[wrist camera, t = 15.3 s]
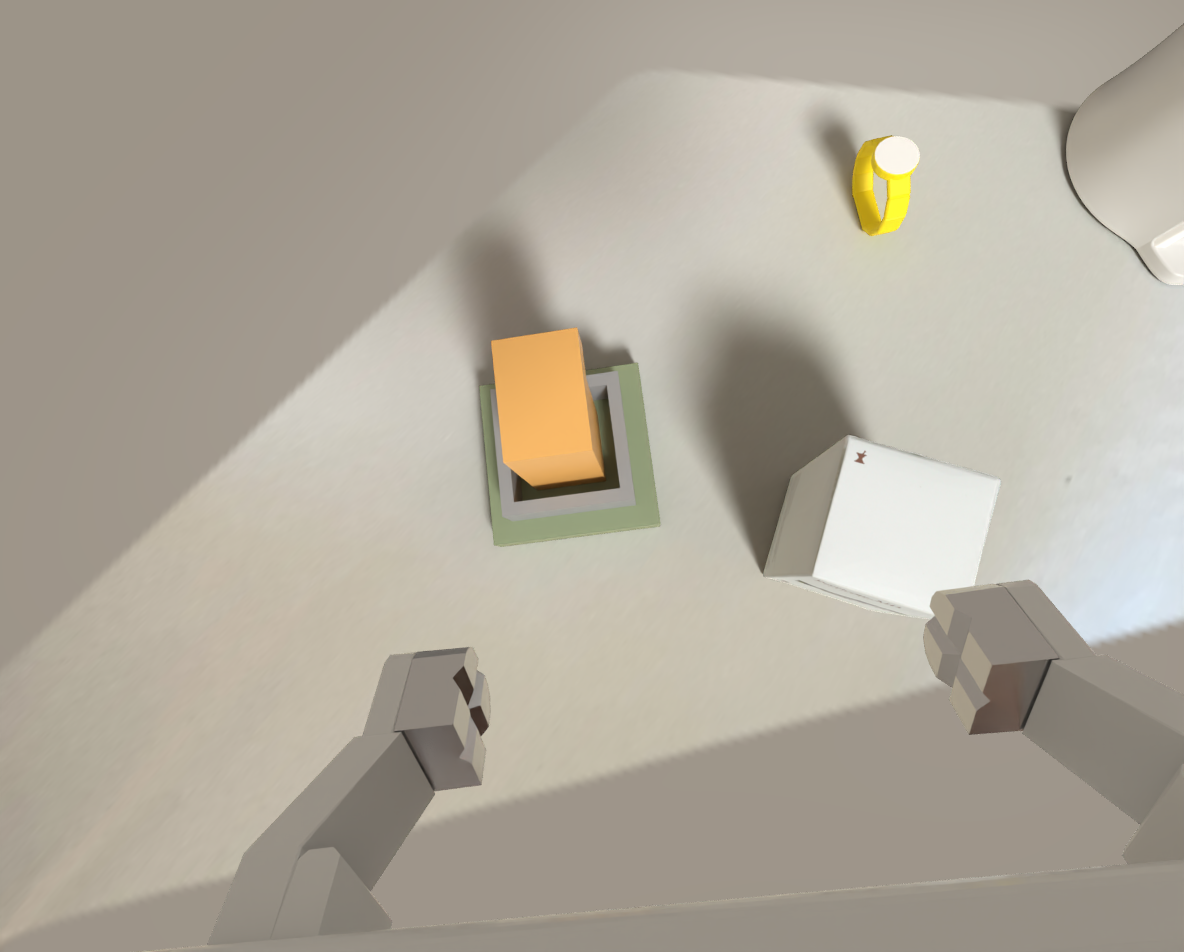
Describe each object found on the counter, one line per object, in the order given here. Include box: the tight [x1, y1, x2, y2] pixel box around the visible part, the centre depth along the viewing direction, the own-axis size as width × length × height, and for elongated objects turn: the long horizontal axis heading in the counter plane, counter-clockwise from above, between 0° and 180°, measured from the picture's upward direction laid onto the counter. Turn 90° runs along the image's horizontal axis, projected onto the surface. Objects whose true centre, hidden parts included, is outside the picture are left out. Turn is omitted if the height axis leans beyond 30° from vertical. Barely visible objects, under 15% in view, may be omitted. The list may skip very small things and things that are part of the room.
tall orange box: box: [491, 328, 606, 490], centre depth 38 cm, size 7×5×10 cm
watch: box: [852, 135, 920, 236], centre depth 43 cm, size 6×3×6 cm, turn 10°
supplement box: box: [763, 435, 1001, 619], centre depth 36 cm, size 7×7×13 cm
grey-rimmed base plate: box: [479, 363, 660, 547], centre depth 42 cm, size 11×11×5 cm
